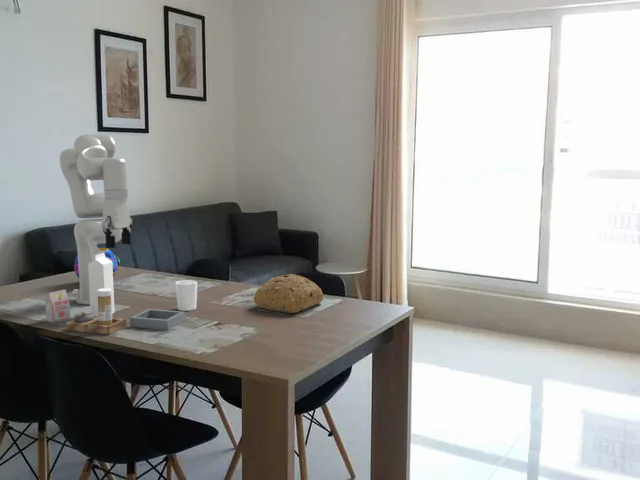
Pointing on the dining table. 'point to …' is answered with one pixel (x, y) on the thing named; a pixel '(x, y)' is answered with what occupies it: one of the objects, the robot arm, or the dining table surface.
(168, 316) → the tray
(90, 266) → the milk
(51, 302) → the white food bag
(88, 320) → the holder
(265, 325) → the dining table surface
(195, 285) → the white cup
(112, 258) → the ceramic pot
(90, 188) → the robot arm
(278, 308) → the bread
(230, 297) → the dining table surface
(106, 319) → the sprinkles bottle
